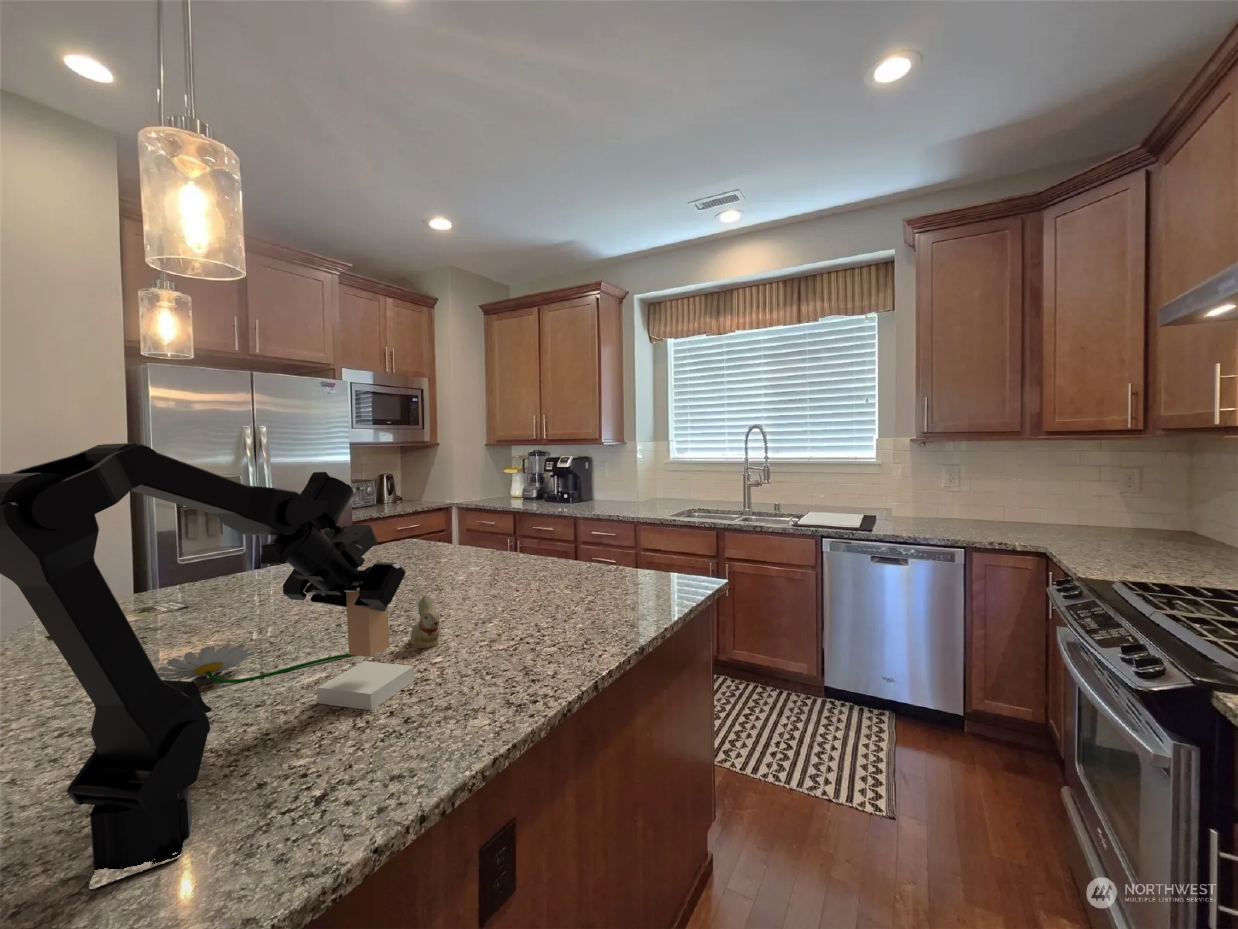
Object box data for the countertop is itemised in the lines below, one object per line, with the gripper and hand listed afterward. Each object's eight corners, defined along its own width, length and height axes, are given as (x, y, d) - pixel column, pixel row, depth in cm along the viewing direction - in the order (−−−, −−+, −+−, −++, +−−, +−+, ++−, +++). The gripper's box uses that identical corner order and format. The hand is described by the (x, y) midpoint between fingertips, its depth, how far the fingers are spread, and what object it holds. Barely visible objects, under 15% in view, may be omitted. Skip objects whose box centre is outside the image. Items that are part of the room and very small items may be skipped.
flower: (365, 628, 97) (154, 646, 82) (364, 658, 95) (146, 683, 79) (356, 648, 107) (165, 668, 91) (356, 676, 104) (159, 701, 88)
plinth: (371, 710, 79) (370, 694, 78) (318, 703, 81) (317, 687, 81) (414, 680, 88) (413, 666, 88) (365, 675, 91) (364, 661, 91)
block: (370, 657, 82) (367, 581, 81) (348, 654, 83) (345, 579, 82) (389, 647, 86) (386, 574, 85) (368, 645, 87) (365, 573, 86)
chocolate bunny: (410, 652, 101) (408, 601, 100) (410, 638, 108) (408, 591, 107) (441, 647, 103) (438, 597, 102) (438, 634, 110) (436, 587, 110)
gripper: (394, 510, 77) (442, 567, 88) (295, 509, 82) (352, 563, 93) (355, 576, 70) (413, 629, 81) (250, 570, 75) (318, 621, 86)
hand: (373, 607), depth 85 cm, fingers closed on block, 4 cm apart
